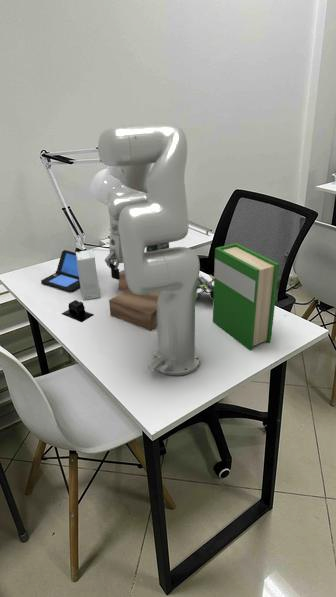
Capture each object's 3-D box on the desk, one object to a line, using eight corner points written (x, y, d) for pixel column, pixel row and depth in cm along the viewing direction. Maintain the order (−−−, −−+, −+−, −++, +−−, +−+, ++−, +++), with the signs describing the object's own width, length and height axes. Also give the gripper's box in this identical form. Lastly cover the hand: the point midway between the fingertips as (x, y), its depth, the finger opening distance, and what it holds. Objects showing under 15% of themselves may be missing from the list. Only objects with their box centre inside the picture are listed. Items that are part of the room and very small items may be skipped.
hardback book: (270, 342, 121) (279, 263, 109) (249, 350, 117) (256, 270, 106) (232, 315, 134) (236, 243, 123) (212, 322, 131) (215, 248, 120)
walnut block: (151, 331, 127) (150, 314, 125) (110, 317, 136) (109, 300, 133) (181, 309, 139) (180, 293, 136) (141, 297, 147) (141, 281, 144)
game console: (39, 284, 157) (35, 261, 153) (66, 271, 167) (63, 249, 163) (71, 294, 150) (67, 270, 146) (97, 279, 160) (94, 257, 156)
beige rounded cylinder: (127, 292, 150) (126, 277, 147) (116, 288, 153) (114, 274, 150) (136, 286, 154) (135, 272, 151) (125, 282, 156) (124, 269, 154)
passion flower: (211, 313, 146) (230, 294, 138) (186, 317, 140) (203, 297, 132) (198, 285, 151) (215, 265, 142) (173, 288, 145) (189, 267, 136)
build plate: (99, 316, 136) (98, 303, 134) (82, 326, 131) (81, 313, 129) (72, 306, 143) (70, 293, 141) (55, 315, 138) (53, 302, 136)
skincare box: (100, 298, 146) (96, 257, 139) (82, 300, 145) (77, 259, 138) (97, 287, 153) (92, 248, 146) (80, 290, 152) (75, 250, 145)
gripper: (112, 237, 135) (116, 285, 143) (146, 221, 147) (148, 267, 155) (95, 232, 139) (100, 279, 147) (130, 217, 151) (132, 262, 159)
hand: (125, 273), depth 151 cm, fingers open, 9 cm apart
